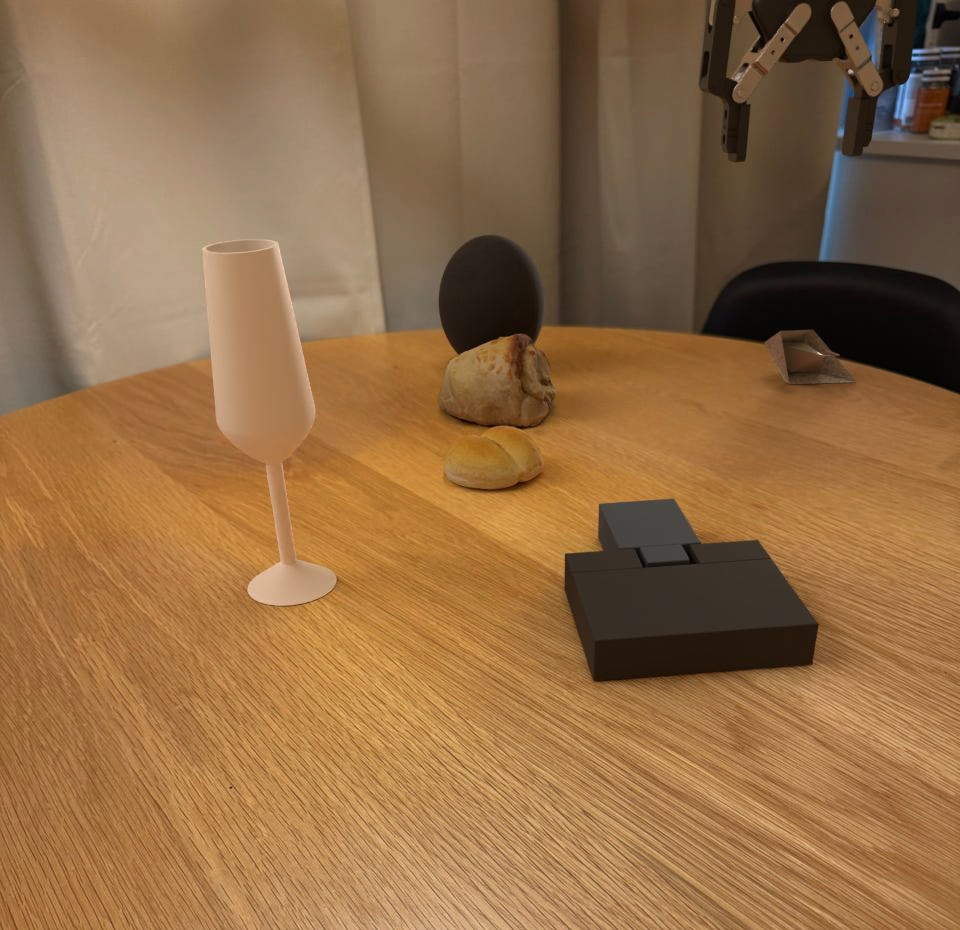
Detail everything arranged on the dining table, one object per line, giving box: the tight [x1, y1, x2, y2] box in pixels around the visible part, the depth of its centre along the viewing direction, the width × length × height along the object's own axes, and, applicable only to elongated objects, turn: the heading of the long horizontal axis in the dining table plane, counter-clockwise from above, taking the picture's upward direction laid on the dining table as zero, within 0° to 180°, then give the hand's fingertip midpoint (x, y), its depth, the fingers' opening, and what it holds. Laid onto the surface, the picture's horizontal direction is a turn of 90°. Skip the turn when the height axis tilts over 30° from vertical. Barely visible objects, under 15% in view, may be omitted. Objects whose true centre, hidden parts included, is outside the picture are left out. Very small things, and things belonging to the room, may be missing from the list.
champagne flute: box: [201, 238, 338, 607], centre depth 69 cm, size 7×7×24 cm
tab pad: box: [597, 498, 702, 568], centre depth 75 cm, size 6×10×3 cm, turn 5°
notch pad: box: [564, 539, 820, 682], centre depth 67 cm, size 14×12×3 cm
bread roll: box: [442, 425, 545, 490], centre depth 91 cm, size 8×9×4 cm
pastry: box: [438, 334, 558, 428], centre depth 106 cm, size 14×12×8 cm
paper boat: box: [763, 329, 857, 385], centre depth 110 cm, size 12×6×9 cm
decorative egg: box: [438, 234, 546, 356], centre depth 117 cm, size 12×12×15 cm
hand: (794, 158), depth 73 cm, fingers open, 8 cm apart
